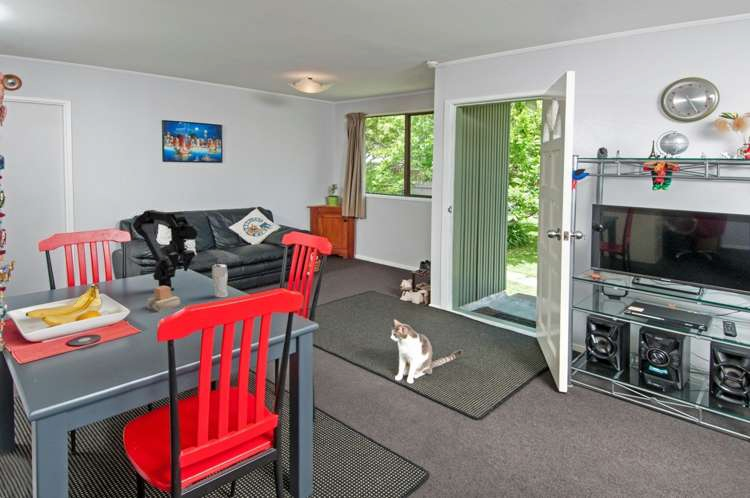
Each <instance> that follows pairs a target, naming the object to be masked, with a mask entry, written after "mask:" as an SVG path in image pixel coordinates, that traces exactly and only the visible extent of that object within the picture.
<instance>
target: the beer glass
mask: <svg viewBox="0 0 750 498" xmlns="http://www.w3.org/2000/svg"><path fill="white" fill-rule="evenodd" d="M211 276H212V280H213V284H214V289H215V290H214V297H215V298H220V297H221V298H226V297H228V296H229V294H228V289H227V288H228V287H227V286H228V276H229V274H228V267H227V264H225V263H224V264H222V263H221V264H219V263H218V264H214V265H212V266H211Z"/></svg>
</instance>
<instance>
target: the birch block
mask: <svg viewBox="0 0 750 498" xmlns="http://www.w3.org/2000/svg"><path fill="white" fill-rule="evenodd" d="M145 300H146V307H147V309H150V310H153V311H156V312H158V313H159V312H161V313H162V312H164V311H167V310H171V309H175V308H179V307H181V299H180V297H178V296H176V295H173V294H171V298H169V299H165V300H158V299H155V296H153V297H149V298H146V299H145Z"/></svg>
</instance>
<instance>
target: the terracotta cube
mask: <svg viewBox="0 0 750 498" xmlns="http://www.w3.org/2000/svg"><path fill="white" fill-rule="evenodd" d="M153 293H154V297H155V299H158V300H165V299H169V298H171V295H172V290H171V288H170V287H168V286H165V285H164V286H160V287H159V286H156V287H153Z"/></svg>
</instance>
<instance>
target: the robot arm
mask: <svg viewBox="0 0 750 498" xmlns="http://www.w3.org/2000/svg"><path fill="white" fill-rule="evenodd" d="M156 221H162V222H165V223H166V224H169V225H168V226H167V229H168V230H170V235H171V237H170V238H171V240H169V242H168V243H169V244H166V245H164V246H163V247H161V245H160V243H159V242H158V239H157V238H156V236H155V234H154V229H155V228H154V224H155V223H156ZM132 226H133V229H134V230H135V233H136V234H137V235H139V236H140V237H142V238H143V240H144V242H145V244H146V245H147V247H148V249H149V251H150V253H151V255H152V257H153V259H154V261H155V267H154V268H155V272H154V274H153V275H152V277H153V280H155V281H157V282H158V287H160V286H164V285H165V286H168V287H170V288H171V291H174V290H175V288H173V287H172V279H171V278H175V275H176V271H177V270H176V269H177V267H178V262H179V260H181V261H182V265H183V270H184V272H187V271H188V270H189V267H190V264H191V263H192V260H193V259H194V258H195V257H196V252H195V251H194V250H190V249H189V250H188V247H186V245H185V243H187V240H191V241H193V240H195V239H196V238H197V237H198V231H197V229H196V228H195V227H194V225H193V224H190V222H189V220H188V219H187V217H186V215H185V214H184V213H183V212H182V211H175V212H165V211H159V210H156V209H155V210H154V209H147V210H145V211H144V212H143V213H142V214H141V215H139V216H138V217H137V218H136V219H135V220H134V222H132Z"/></svg>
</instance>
